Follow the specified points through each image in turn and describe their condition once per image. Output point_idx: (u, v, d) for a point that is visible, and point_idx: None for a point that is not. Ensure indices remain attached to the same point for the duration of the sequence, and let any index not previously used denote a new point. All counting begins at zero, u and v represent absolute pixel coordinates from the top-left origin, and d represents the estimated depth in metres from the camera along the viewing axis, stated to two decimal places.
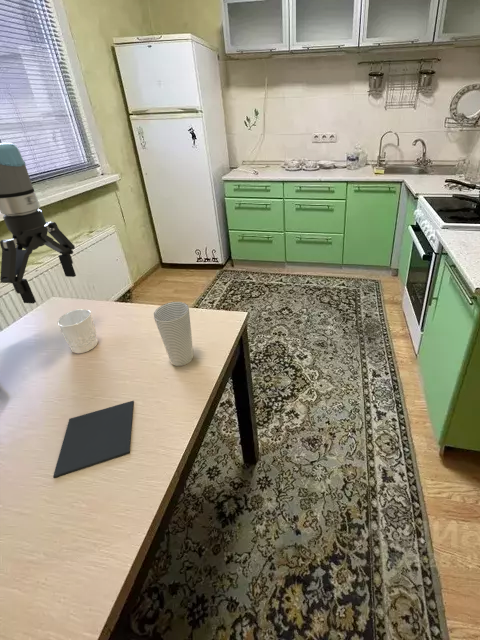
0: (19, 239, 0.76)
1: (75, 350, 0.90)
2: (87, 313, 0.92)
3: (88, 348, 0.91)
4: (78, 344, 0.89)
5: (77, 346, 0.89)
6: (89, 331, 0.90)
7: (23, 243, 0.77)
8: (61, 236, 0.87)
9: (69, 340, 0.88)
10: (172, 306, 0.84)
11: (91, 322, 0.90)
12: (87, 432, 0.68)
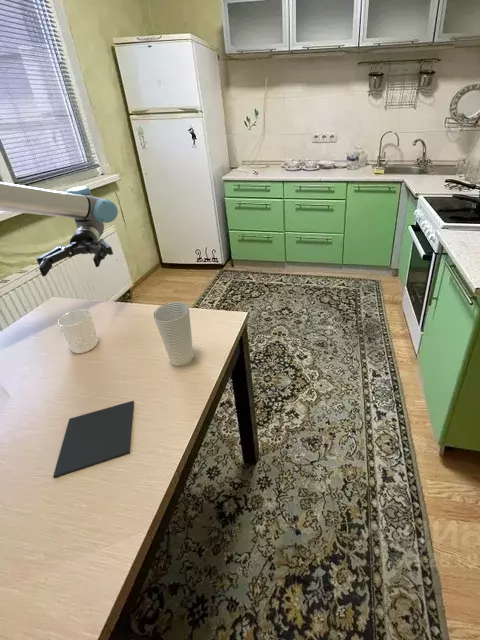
0: None
1: (75, 350, 0.90)
2: (87, 313, 0.92)
3: (88, 348, 0.91)
4: (78, 344, 0.89)
5: (77, 346, 0.89)
6: (89, 331, 0.90)
7: None
8: None
9: (69, 340, 0.88)
10: (172, 306, 0.84)
11: (91, 322, 0.90)
12: (87, 432, 0.68)
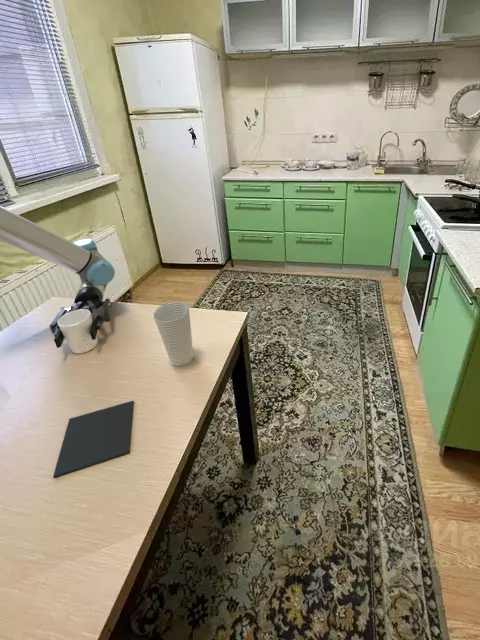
0: None
1: (75, 350, 0.90)
2: (87, 313, 0.92)
3: (88, 348, 0.91)
4: (78, 344, 0.89)
5: (77, 346, 0.89)
6: (89, 331, 0.90)
7: (99, 307, 1.02)
8: None
9: (69, 340, 0.88)
10: (172, 306, 0.84)
11: (91, 322, 0.90)
12: (87, 432, 0.68)
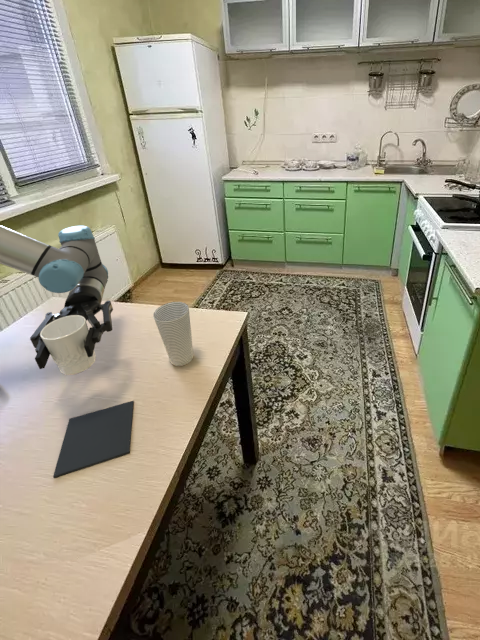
0: None
1: (65, 371, 0.66)
2: (81, 320, 0.69)
3: (83, 368, 0.67)
4: (69, 363, 0.65)
5: (67, 366, 0.66)
6: (84, 345, 0.66)
7: (97, 312, 0.78)
8: None
9: (56, 358, 0.65)
10: (172, 306, 0.84)
11: (86, 333, 0.67)
12: (87, 432, 0.68)
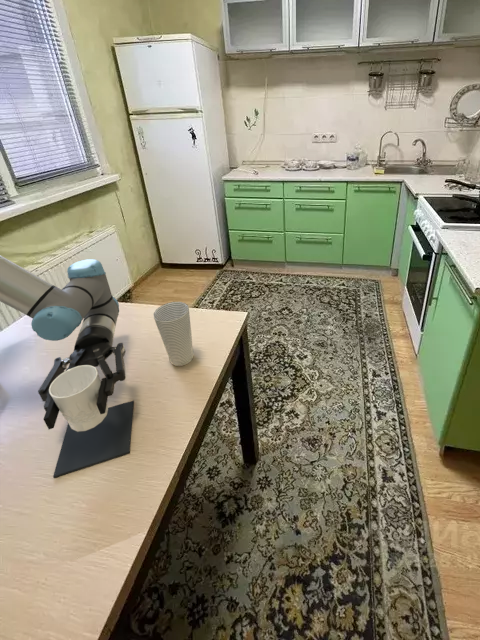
0: None
1: (75, 427, 0.61)
2: (92, 371, 0.64)
3: (94, 423, 0.62)
4: (80, 420, 0.60)
5: (78, 423, 0.61)
6: (96, 400, 0.61)
7: None
8: None
9: (67, 415, 0.60)
10: (172, 306, 0.84)
11: (98, 386, 0.62)
12: (87, 432, 0.68)
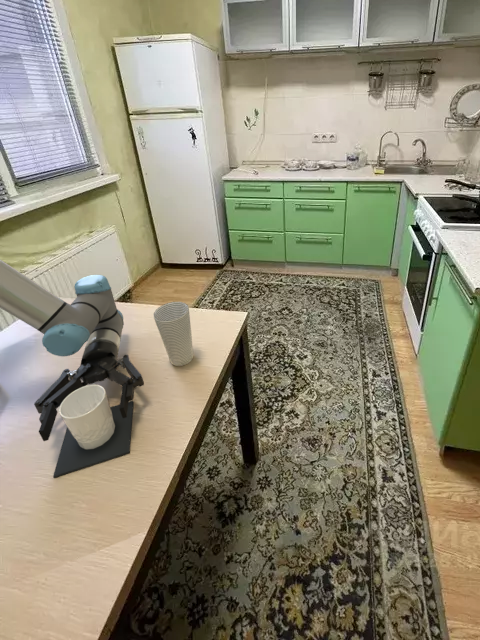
0: None
1: (84, 446, 0.64)
2: (100, 390, 0.66)
3: (102, 441, 0.65)
4: (88, 439, 0.63)
5: (86, 441, 0.63)
6: (104, 419, 0.64)
7: None
8: None
9: (76, 434, 0.62)
10: (172, 306, 0.84)
11: (106, 405, 0.64)
12: None
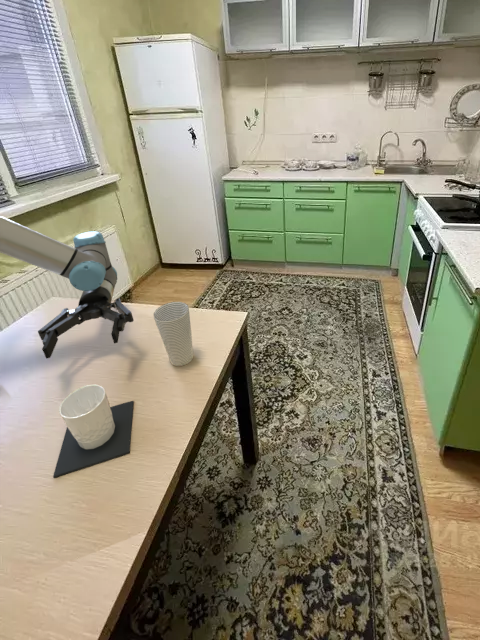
0: None
1: (84, 446, 0.64)
2: (100, 390, 0.66)
3: (102, 441, 0.65)
4: (88, 439, 0.63)
5: (86, 441, 0.63)
6: (104, 419, 0.64)
7: None
8: None
9: (76, 434, 0.62)
10: (172, 306, 0.84)
11: (106, 405, 0.64)
12: None
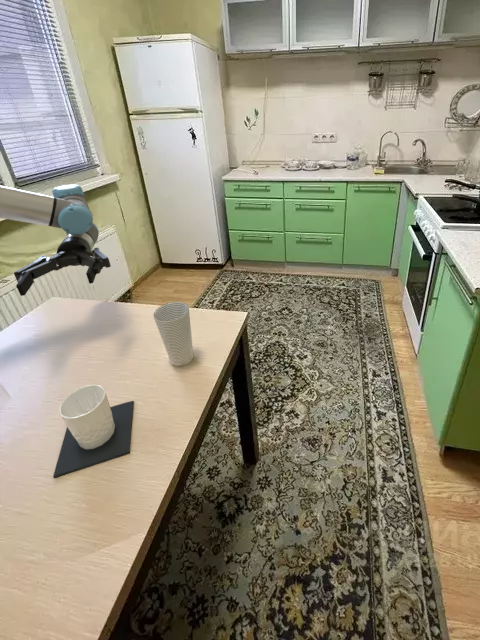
0: None
1: (84, 446, 0.64)
2: (100, 390, 0.66)
3: (102, 441, 0.65)
4: (88, 439, 0.63)
5: (86, 441, 0.63)
6: (104, 419, 0.64)
7: None
8: None
9: (76, 434, 0.62)
10: (172, 306, 0.84)
11: (106, 405, 0.64)
12: None
